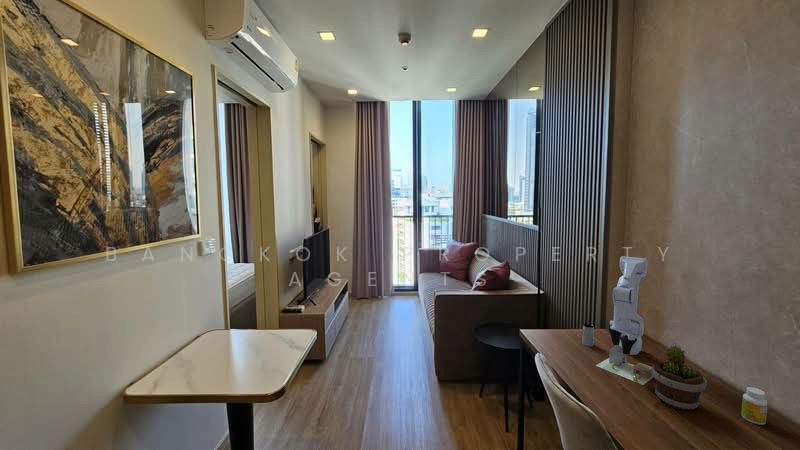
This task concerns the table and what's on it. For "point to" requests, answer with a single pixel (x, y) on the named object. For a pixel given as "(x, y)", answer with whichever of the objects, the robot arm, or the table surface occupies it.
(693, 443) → the table surface
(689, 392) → the flowerpot
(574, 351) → the table surface
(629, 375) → the base
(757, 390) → the supplement bottle
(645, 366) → the cover
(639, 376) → the stubs
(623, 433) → the table surface
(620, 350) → the grey block
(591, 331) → the grey cylinder
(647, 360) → the table surface
